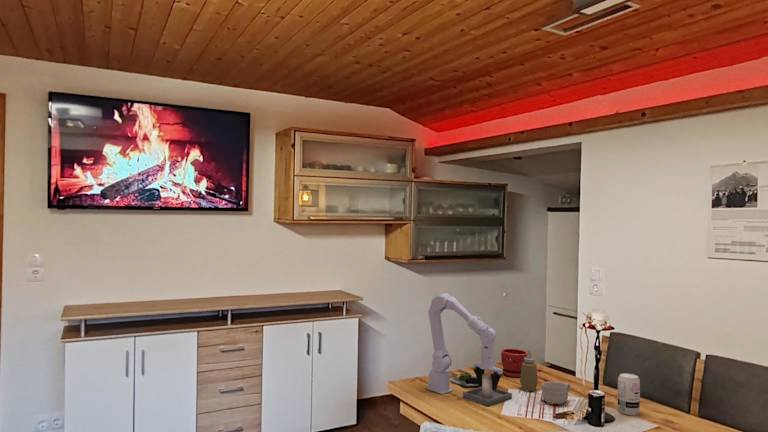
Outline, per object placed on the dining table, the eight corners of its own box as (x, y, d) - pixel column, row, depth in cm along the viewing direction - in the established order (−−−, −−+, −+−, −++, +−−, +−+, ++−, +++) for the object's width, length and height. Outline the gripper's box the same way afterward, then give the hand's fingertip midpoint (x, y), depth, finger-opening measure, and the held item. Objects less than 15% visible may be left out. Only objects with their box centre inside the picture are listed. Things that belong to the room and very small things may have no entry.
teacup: (550, 408, 223) (550, 388, 223) (536, 399, 233) (536, 381, 233) (579, 405, 226) (579, 386, 226) (564, 397, 237) (564, 379, 237)
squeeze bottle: (536, 387, 250) (536, 348, 250) (539, 392, 242) (539, 353, 242) (518, 386, 251) (518, 348, 251) (521, 392, 243) (521, 352, 243)
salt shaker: (479, 395, 234) (480, 374, 234) (486, 393, 237) (487, 372, 237) (487, 398, 230) (488, 377, 230) (495, 396, 233) (495, 375, 233)
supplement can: (620, 407, 224) (621, 371, 224) (642, 412, 219) (642, 375, 219) (615, 412, 218) (615, 375, 218) (636, 417, 213) (637, 379, 213)
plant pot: (523, 379, 262) (523, 355, 262) (497, 375, 269) (497, 351, 269) (530, 373, 273) (531, 350, 273) (505, 369, 280) (506, 346, 280)
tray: (463, 398, 234) (463, 392, 234) (486, 390, 244) (486, 385, 244) (488, 406, 223) (488, 400, 223) (511, 398, 233) (511, 393, 233)
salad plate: (439, 380, 260) (439, 371, 260) (464, 374, 271) (464, 365, 271) (469, 391, 245) (469, 381, 245) (494, 384, 256) (494, 374, 256)
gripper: (469, 354, 237) (468, 384, 236) (495, 360, 226) (495, 393, 225) (479, 351, 241) (479, 381, 241) (505, 358, 230) (505, 389, 230)
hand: (487, 387), depth 234 cm, fingers open, 7 cm apart
